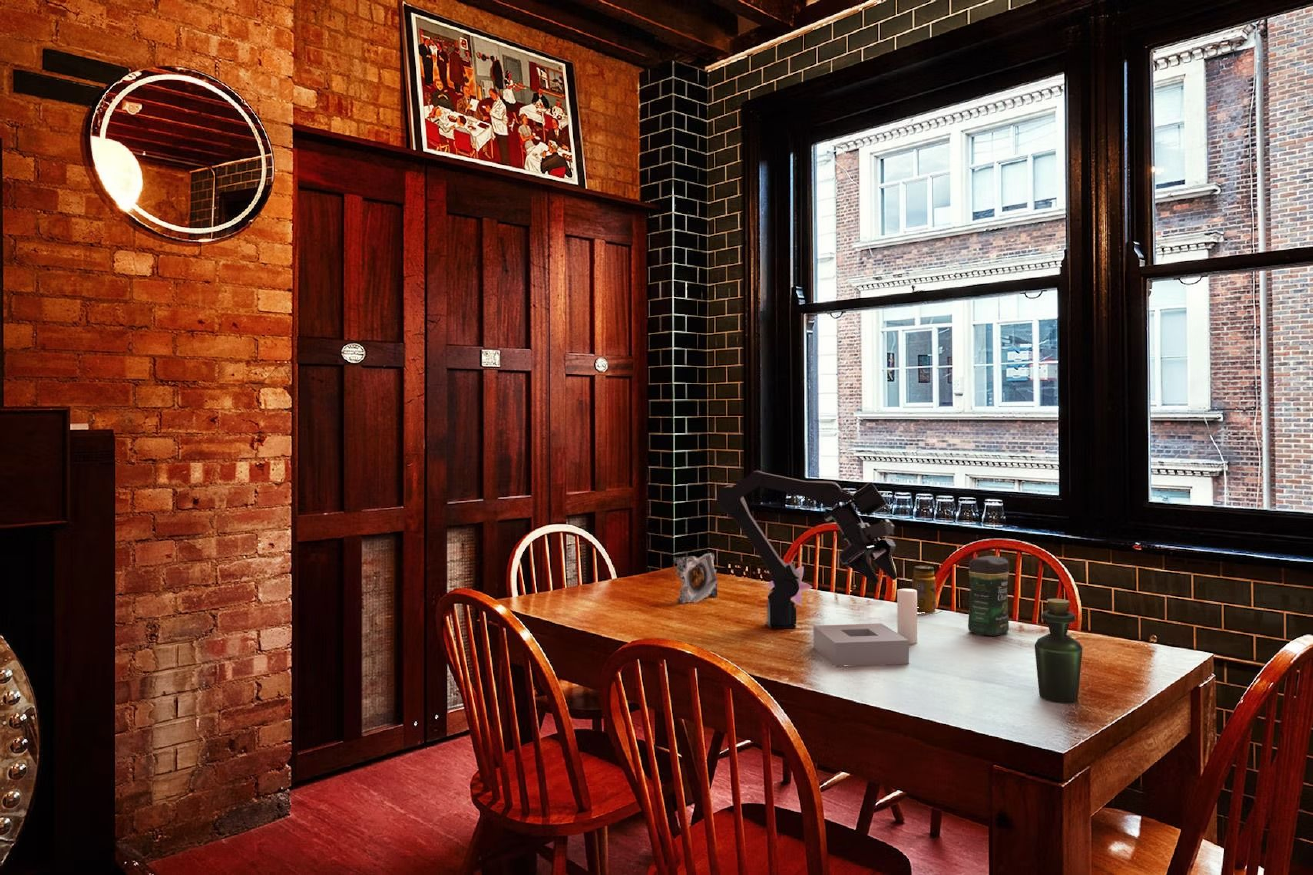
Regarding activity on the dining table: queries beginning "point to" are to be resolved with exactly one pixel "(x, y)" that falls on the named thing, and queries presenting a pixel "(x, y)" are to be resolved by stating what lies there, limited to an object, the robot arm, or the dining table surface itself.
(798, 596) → the lily
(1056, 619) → the potion bottle
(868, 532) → the robot arm
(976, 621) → the coffee jar
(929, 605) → the condiment
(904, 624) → the pink cylinder peg
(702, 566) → the ornate square frame
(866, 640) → the well block
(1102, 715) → the dining table surface
